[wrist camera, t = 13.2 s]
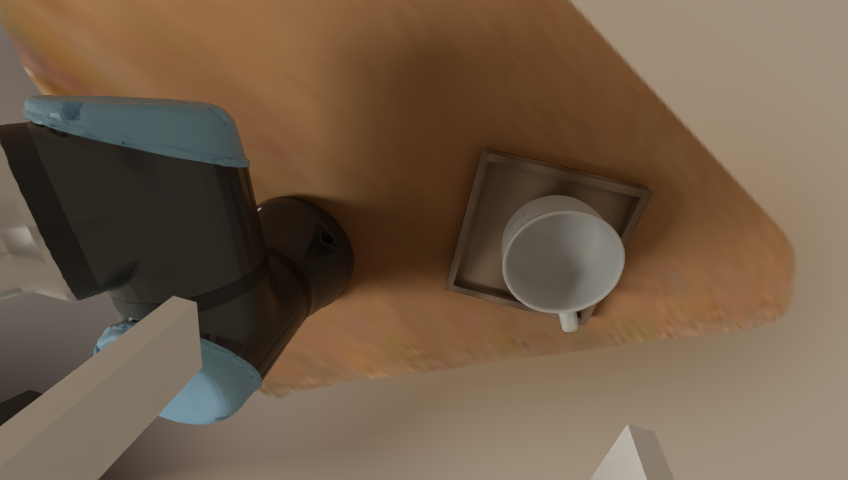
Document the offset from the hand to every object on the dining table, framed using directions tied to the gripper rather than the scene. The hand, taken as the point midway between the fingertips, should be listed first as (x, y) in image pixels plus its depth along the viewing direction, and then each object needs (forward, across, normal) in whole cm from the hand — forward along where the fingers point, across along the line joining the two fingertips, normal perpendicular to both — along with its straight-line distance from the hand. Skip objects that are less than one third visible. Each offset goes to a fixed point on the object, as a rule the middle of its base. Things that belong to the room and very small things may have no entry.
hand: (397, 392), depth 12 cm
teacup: (+32, +12, -8) cm, 35 cm away
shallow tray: (+33, +10, -8) cm, 35 cm away
